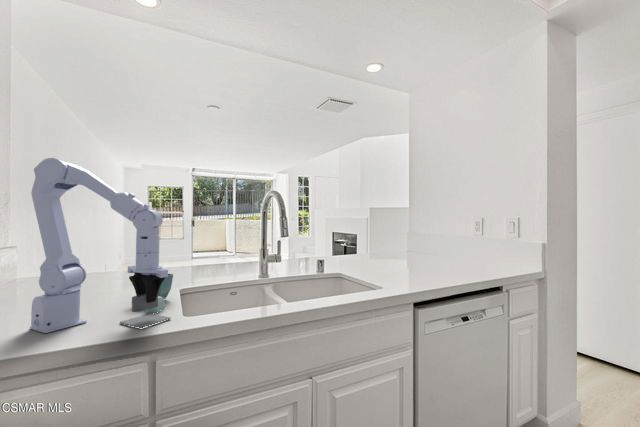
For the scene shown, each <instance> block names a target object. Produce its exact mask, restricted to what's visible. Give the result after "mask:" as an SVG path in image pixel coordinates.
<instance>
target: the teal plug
mask: <svg viewBox="0 0 640 427" xmlns="http://www.w3.org/2000/svg"><path fill="white" fill-rule="evenodd" d="M165 300H166V299H165ZM165 300H164V298H162V301H161V302H158V307H154V308H151V309H148V310H145V314H149V313H157V312H159V311H160V310H162V309H163V308H164V309H165V304H166V303H165V302H166V301H165ZM164 309H163V310H164ZM163 310H162V311H163ZM160 312H161V311H160ZM160 312H159V313H160ZM157 314H158V313H157Z"/></svg>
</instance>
